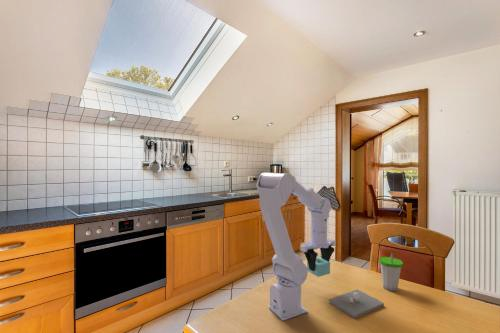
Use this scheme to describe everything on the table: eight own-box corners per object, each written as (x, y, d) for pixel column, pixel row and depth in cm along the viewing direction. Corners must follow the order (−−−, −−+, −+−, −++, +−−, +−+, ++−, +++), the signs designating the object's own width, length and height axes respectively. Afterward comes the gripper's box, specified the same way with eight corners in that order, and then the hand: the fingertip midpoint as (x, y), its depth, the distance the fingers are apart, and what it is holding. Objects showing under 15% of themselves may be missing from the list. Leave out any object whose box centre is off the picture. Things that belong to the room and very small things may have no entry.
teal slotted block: (330, 273, 89) (330, 262, 89) (318, 276, 86) (318, 265, 86) (318, 267, 94) (318, 257, 94) (307, 270, 91) (307, 259, 91)
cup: (384, 281, 98) (384, 243, 98) (406, 289, 92) (406, 248, 92) (374, 287, 93) (374, 247, 93) (396, 296, 87) (397, 253, 87)
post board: (354, 318, 75) (354, 307, 74) (328, 302, 83) (329, 291, 83) (383, 306, 81) (383, 295, 81) (357, 292, 90) (357, 282, 90)
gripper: (311, 236, 83) (310, 276, 83) (342, 230, 90) (341, 268, 90) (297, 231, 89) (297, 268, 89) (327, 226, 96) (326, 261, 96)
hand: (318, 268), depth 90 cm, fingers closed on teal slotted block, 6 cm apart
